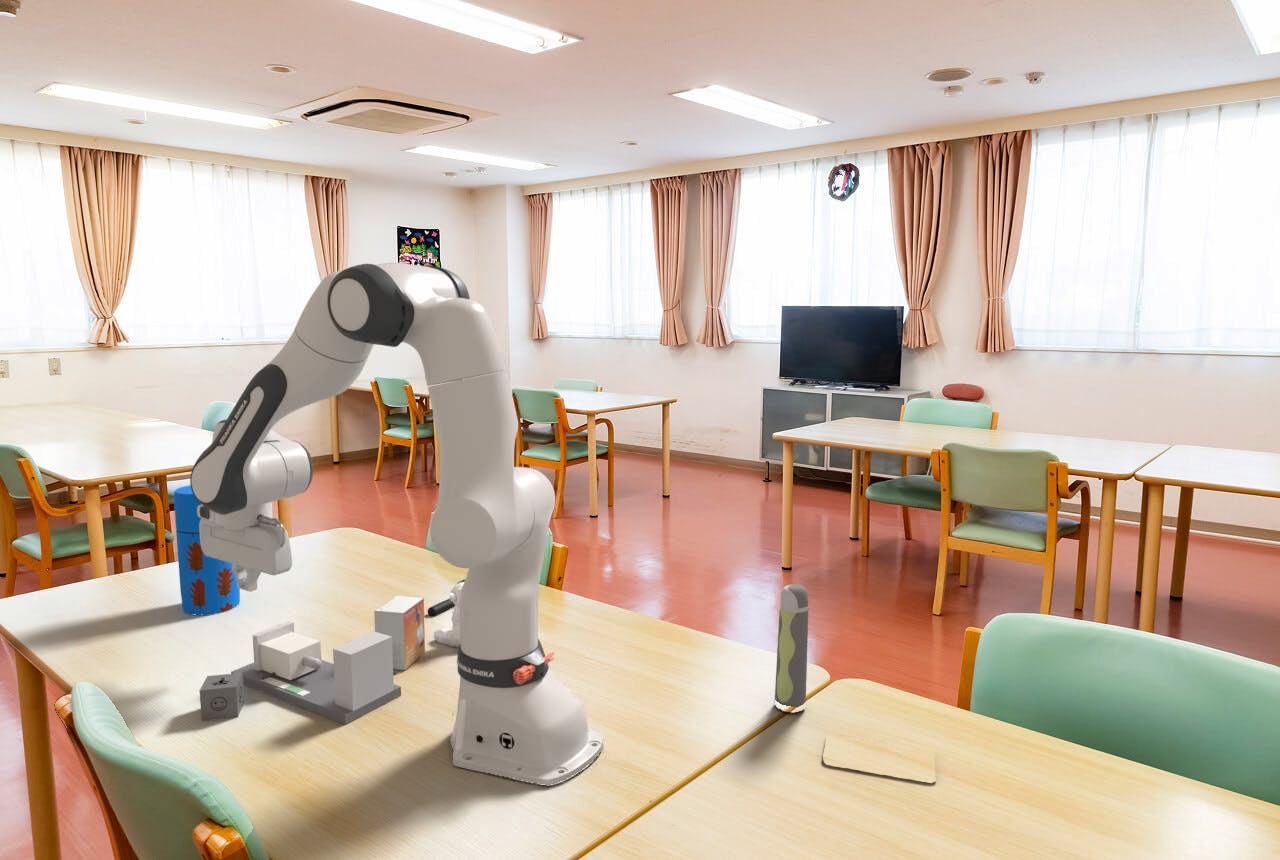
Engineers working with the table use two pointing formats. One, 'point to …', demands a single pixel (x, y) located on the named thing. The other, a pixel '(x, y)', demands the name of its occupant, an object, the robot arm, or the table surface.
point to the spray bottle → (792, 647)
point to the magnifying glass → (441, 606)
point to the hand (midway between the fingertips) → (247, 589)
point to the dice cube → (222, 696)
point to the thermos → (200, 564)
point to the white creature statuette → (446, 634)
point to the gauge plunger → (285, 652)
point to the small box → (403, 628)
